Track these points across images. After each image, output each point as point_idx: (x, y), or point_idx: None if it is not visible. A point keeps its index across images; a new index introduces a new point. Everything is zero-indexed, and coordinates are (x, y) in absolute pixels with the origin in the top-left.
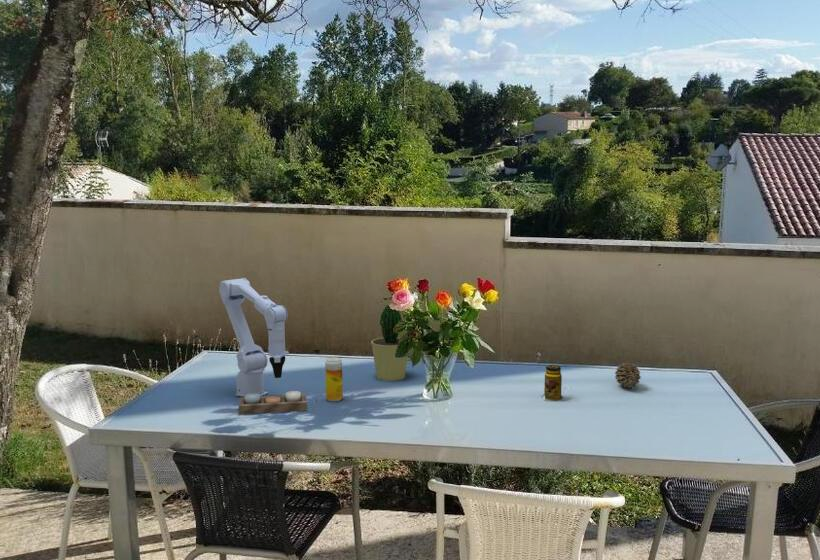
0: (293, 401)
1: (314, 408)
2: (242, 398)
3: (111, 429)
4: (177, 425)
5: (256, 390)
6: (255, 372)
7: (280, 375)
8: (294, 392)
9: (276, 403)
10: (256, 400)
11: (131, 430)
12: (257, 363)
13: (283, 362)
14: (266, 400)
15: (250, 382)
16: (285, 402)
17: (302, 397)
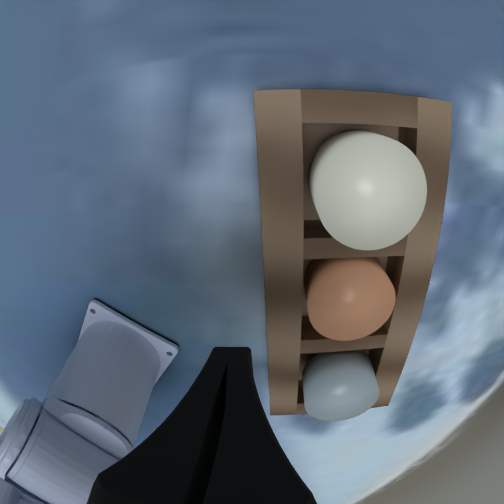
0: None
1: (390, 51)
2: (284, 408)
3: (364, 498)
4: (395, 456)
5: (146, 365)
6: (119, 440)
7: (250, 364)
8: (359, 184)
9: (419, 280)
10: (372, 371)
11: (384, 486)
12: (86, 470)
13: (308, 490)
14: (367, 332)
15: (143, 412)
16: (419, 233)
17: (339, 115)
